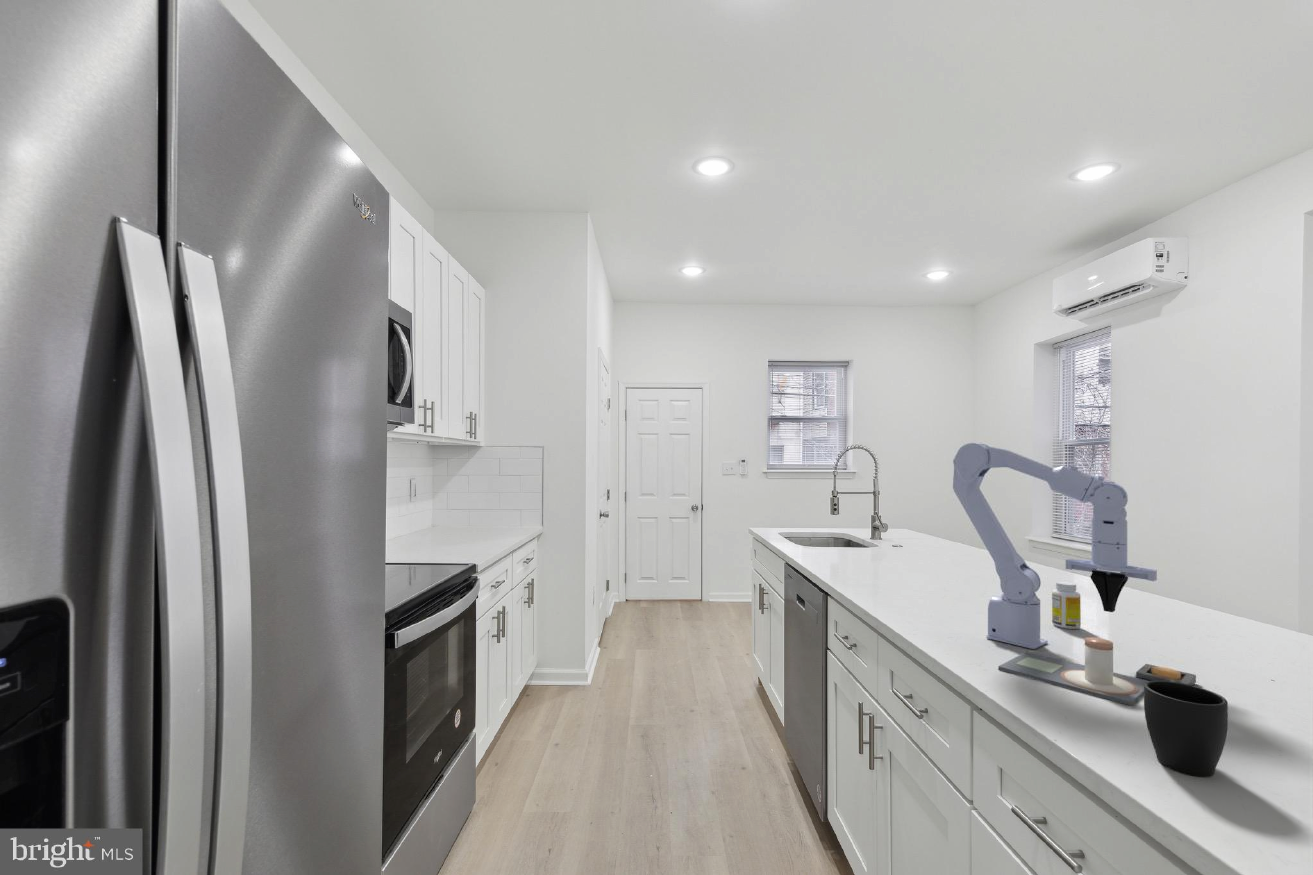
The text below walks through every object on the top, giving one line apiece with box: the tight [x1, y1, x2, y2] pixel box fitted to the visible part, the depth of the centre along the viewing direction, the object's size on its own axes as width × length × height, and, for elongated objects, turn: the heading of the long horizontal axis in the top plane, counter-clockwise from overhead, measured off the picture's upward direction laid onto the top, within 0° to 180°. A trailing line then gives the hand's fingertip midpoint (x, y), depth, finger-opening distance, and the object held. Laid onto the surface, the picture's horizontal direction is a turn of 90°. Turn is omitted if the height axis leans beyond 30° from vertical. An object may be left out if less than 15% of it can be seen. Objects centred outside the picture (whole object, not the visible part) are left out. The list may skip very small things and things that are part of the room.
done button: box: [1151, 666, 1181, 681], centre depth 107 cm, size 4×4×2 cm
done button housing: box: [1135, 663, 1197, 686], centre depth 107 cm, size 7×7×2 cm
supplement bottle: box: [1051, 580, 1082, 630], centre depth 141 cm, size 6×6×10 cm
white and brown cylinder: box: [1084, 636, 1114, 686], centre depth 105 cm, size 4×4×7 cm
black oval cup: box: [1143, 680, 1229, 778], centre depth 79 cm, size 8×12×10 cm
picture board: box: [997, 651, 1149, 707], centre depth 109 cm, size 20×14×1 cm
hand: (1109, 610), depth 119 cm, fingers closed
